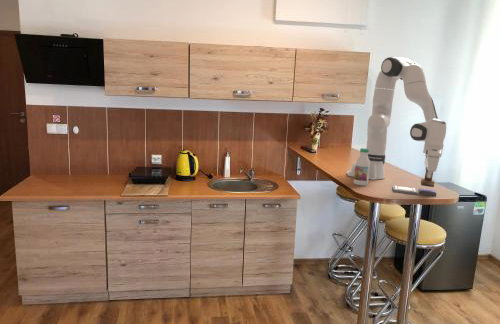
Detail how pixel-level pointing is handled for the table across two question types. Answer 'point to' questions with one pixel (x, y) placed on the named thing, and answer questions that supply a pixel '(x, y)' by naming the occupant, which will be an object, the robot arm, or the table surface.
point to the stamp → (427, 180)
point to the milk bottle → (362, 168)
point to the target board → (405, 190)
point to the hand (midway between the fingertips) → (428, 176)
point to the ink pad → (427, 192)
